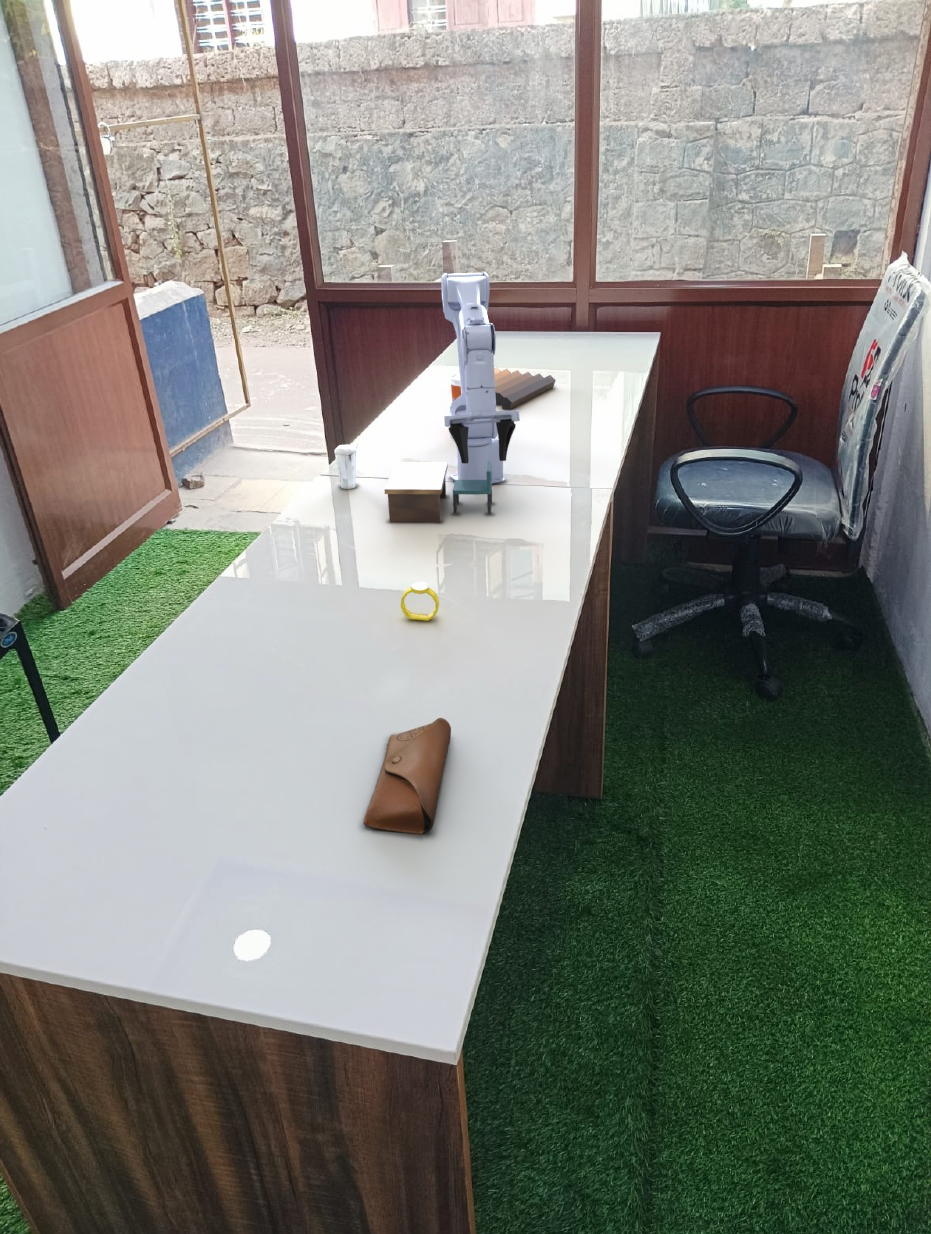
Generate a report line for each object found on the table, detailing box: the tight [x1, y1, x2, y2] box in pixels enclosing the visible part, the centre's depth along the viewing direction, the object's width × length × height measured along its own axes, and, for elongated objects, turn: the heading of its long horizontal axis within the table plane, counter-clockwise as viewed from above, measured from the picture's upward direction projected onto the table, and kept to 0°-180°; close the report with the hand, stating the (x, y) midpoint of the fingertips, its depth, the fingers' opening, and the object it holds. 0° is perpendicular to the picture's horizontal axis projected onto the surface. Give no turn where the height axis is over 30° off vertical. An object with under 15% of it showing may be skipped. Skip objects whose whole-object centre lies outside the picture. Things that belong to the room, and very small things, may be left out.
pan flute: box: [494, 366, 556, 411], centre depth 257 cm, size 25×3×25 cm
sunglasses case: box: [362, 717, 452, 835], centre depth 111 cm, size 18×7×7 cm
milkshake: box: [334, 442, 360, 490], centre depth 195 cm, size 4×5×10 cm
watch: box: [400, 581, 440, 622], centre depth 145 cm, size 6×3×6 cm, turn 84°
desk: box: [384, 461, 449, 524], centre depth 184 cm, size 11×15×7 cm
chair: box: [452, 461, 493, 515], centre depth 183 cm, size 8×6×9 cm
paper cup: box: [449, 373, 461, 403], centre depth 224 cm, size 8×8×14 cm
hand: (483, 462), depth 176 cm, fingers open, 7 cm apart
